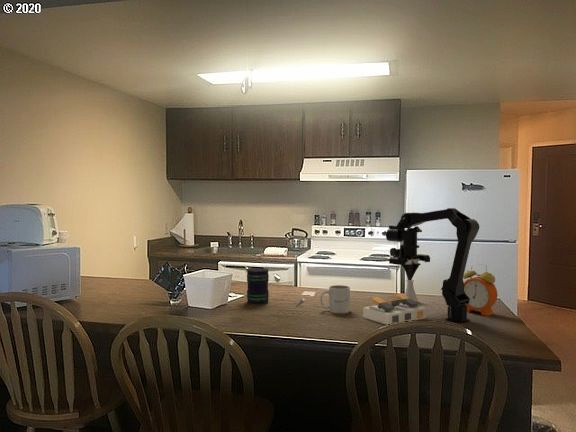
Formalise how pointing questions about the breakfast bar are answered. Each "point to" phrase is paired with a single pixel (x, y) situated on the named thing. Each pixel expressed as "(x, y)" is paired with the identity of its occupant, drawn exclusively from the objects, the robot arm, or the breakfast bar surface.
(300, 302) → the spatula
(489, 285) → the alarm clock
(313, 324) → the breakfast bar surface
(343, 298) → the mug
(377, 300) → the block
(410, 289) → the flask
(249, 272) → the storage jar
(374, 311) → the switch box
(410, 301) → the rocker
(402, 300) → the block
